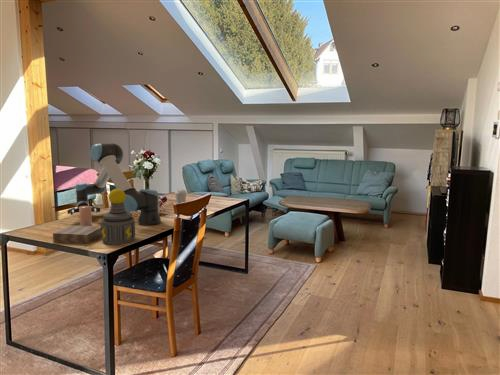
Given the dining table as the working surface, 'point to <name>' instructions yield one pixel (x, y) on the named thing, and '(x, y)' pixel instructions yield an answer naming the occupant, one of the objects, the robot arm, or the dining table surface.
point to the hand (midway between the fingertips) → (84, 213)
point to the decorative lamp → (117, 221)
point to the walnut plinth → (77, 234)
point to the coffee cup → (180, 196)
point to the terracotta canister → (85, 216)
